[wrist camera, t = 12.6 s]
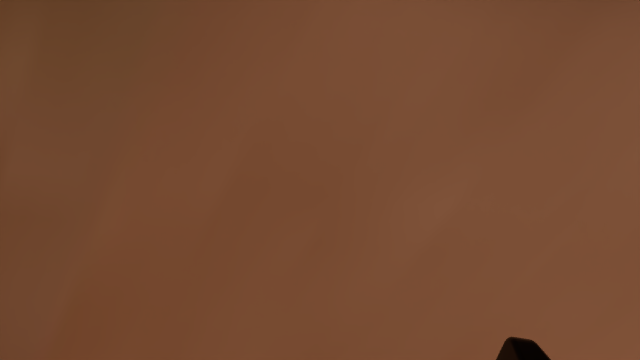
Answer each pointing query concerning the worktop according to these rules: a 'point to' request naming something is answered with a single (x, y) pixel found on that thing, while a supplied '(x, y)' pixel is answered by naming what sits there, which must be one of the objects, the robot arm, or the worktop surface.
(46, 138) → the worktop surface
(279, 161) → the worktop surface
